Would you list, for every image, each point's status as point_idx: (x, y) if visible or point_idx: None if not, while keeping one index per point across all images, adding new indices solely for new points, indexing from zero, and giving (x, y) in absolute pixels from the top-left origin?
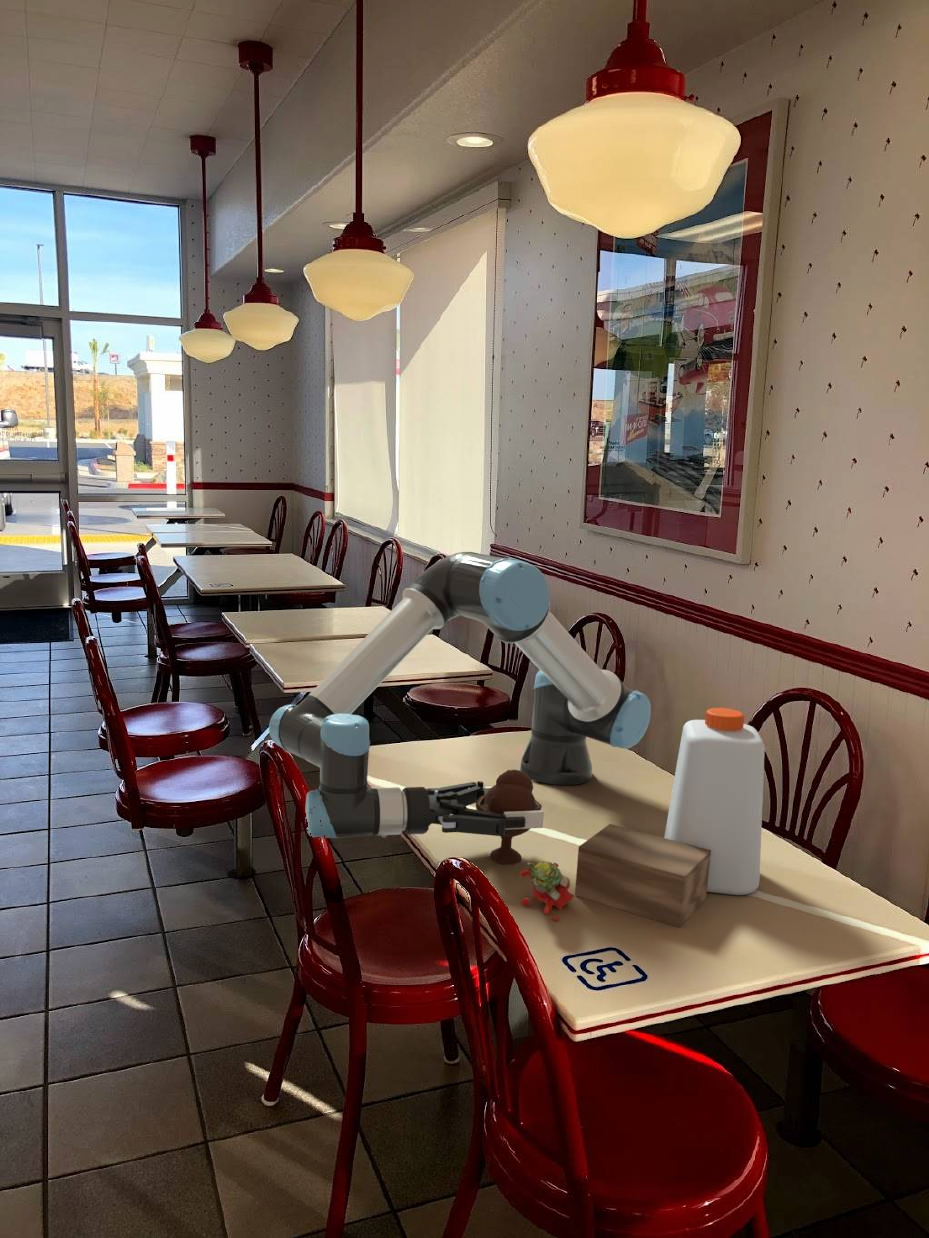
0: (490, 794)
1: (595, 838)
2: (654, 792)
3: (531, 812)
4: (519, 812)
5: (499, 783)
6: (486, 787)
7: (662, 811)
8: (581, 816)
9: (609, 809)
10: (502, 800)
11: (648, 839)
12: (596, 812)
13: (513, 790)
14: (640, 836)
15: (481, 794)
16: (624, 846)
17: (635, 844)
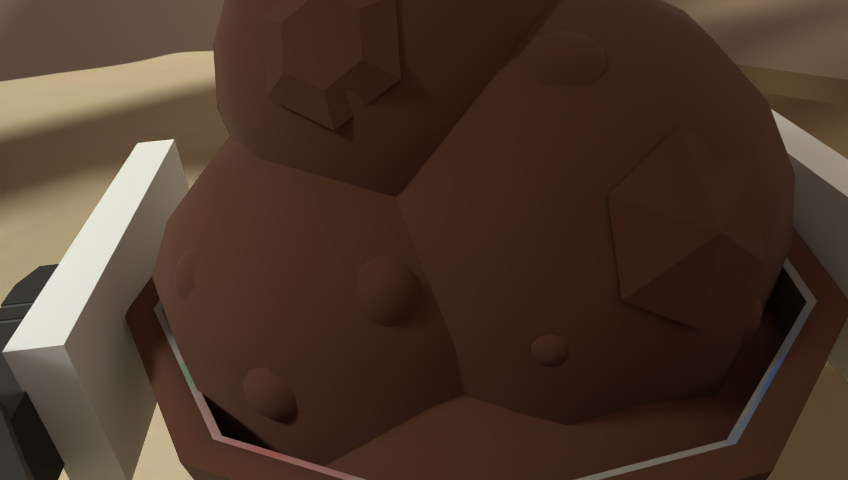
0: (404, 291)
1: (793, 64)
2: (11, 108)
3: (779, 115)
4: (833, 160)
5: (452, 74)
6: (44, 335)
7: (143, 108)
8: (71, 232)
9: (60, 176)
10: (765, 172)
11: (713, 2)
12: (63, 200)
13: (685, 18)
14: (690, 10)
15: (34, 456)
16: (833, 27)
17: (788, 15)
